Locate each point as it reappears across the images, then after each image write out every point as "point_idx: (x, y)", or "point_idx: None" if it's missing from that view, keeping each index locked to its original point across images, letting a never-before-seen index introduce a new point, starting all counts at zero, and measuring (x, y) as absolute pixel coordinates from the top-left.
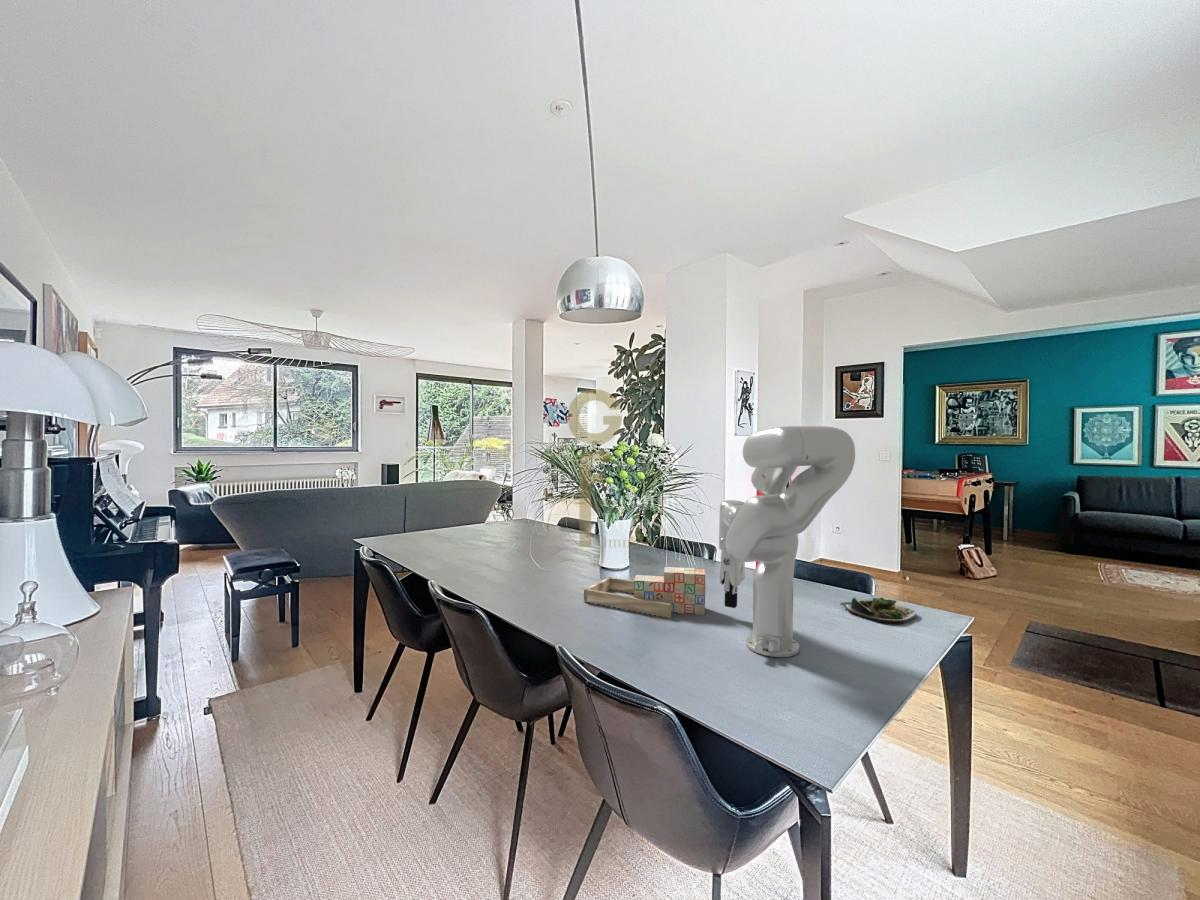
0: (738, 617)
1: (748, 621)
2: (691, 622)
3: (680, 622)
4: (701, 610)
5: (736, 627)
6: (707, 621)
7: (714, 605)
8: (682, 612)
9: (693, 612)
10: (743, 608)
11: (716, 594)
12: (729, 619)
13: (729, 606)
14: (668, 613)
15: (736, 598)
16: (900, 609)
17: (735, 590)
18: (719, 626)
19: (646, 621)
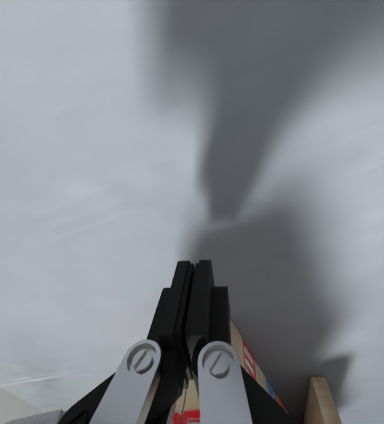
0: (174, 220)
1: (193, 167)
2: (332, 330)
3: (348, 352)
4: (234, 338)
5: (310, 186)
6: (293, 296)
7: (123, 314)
8: (256, 364)
9: (243, 346)
10: (68, 236)
11: (38, 329)
12: (222, 242)
13: (213, 286)
14: (331, 398)
15: (180, 300)
16: None
17: (161, 368)
18: (332, 249)
19: (381, 408)
